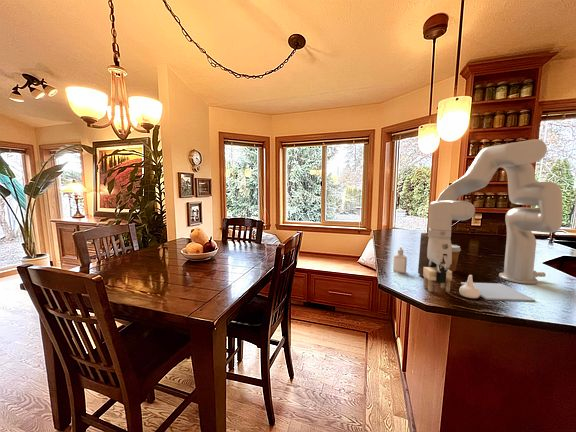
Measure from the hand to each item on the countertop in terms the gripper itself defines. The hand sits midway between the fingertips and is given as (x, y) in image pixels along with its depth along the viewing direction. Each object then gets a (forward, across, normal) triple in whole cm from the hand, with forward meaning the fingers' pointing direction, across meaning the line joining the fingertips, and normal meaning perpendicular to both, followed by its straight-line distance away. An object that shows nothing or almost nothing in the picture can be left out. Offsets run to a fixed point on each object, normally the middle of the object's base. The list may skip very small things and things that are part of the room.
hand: (436, 279), depth 98 cm
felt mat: (+5, +1, -22) cm, 22 cm away
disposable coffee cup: (+5, +29, -19) cm, 35 cm away
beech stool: (+4, 0, 0) cm, 4 cm away
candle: (+5, +17, -4) cm, 18 cm away
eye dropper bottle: (+5, +23, +6) cm, 24 cm away
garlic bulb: (+5, -4, -10) cm, 12 cm away
